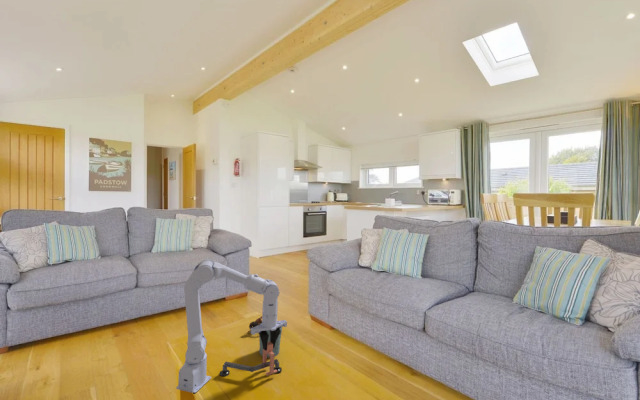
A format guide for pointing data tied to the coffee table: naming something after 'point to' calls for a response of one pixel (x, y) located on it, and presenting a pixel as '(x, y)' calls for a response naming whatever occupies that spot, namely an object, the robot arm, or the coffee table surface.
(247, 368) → the wheeled bent frame
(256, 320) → the vr controller
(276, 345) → the green tapered cup
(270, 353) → the pink blocky toy figure
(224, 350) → the coffee table surface
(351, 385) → the coffee table surface
